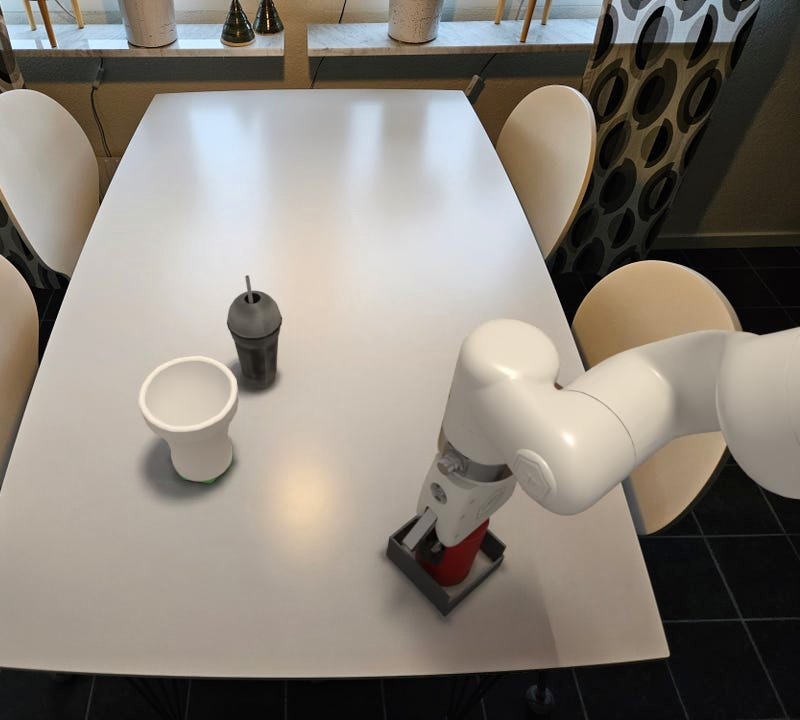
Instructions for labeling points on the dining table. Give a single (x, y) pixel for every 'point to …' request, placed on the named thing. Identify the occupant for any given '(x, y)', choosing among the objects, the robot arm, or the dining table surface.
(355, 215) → the dining table surface
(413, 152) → the dining table surface
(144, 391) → the cup
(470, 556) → the can
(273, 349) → the beverage cup
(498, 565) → the dark square frame
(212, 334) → the dining table surface
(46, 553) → the dining table surface
